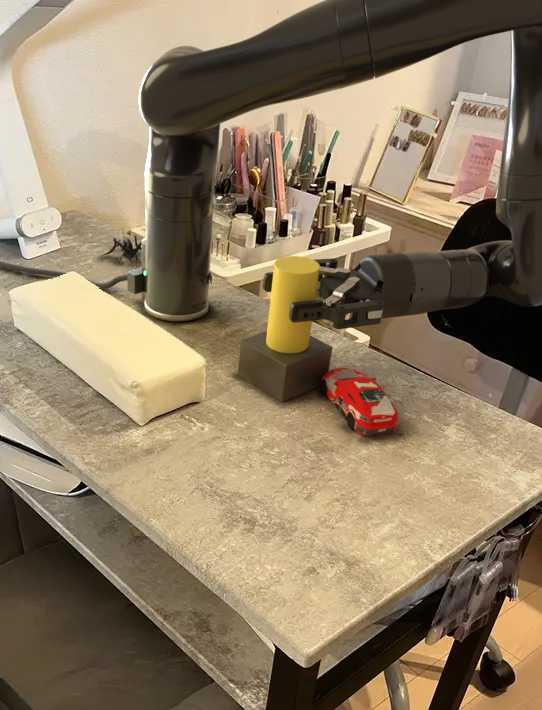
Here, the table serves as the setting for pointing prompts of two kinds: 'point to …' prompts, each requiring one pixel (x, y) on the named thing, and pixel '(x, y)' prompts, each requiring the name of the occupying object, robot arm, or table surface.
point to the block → (283, 367)
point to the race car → (360, 401)
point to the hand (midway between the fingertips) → (277, 297)
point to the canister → (290, 285)
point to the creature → (126, 248)
